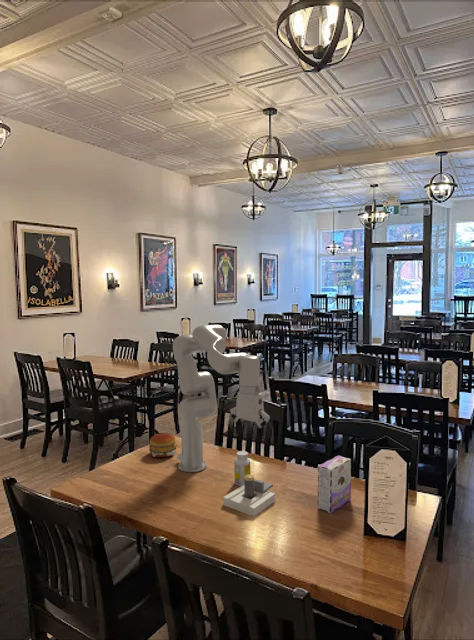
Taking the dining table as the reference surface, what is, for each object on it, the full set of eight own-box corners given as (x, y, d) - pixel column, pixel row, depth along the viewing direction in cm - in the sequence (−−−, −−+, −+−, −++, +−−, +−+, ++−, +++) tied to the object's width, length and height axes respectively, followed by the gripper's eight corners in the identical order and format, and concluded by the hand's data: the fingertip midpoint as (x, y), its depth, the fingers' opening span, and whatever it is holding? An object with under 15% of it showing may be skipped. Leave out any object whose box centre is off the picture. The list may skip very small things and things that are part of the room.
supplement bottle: (251, 480, 185) (251, 450, 184) (250, 487, 179) (250, 456, 178) (235, 479, 186) (235, 449, 185) (233, 486, 180) (233, 455, 179)
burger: (163, 447, 224) (162, 427, 223) (183, 452, 216) (182, 432, 216) (143, 455, 213) (142, 435, 213) (163, 461, 205) (163, 440, 205)
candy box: (337, 495, 171) (338, 454, 170) (351, 501, 167) (351, 458, 166) (316, 508, 162) (317, 464, 161) (330, 514, 158) (331, 469, 156)
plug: (242, 503, 165) (242, 477, 165) (248, 499, 168) (248, 473, 168) (250, 506, 163) (250, 479, 162) (256, 502, 166) (256, 476, 165)
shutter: (248, 488, 171) (248, 478, 170) (258, 481, 176) (258, 472, 176) (262, 493, 167) (262, 483, 166) (272, 486, 172) (272, 476, 172)
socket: (223, 505, 164) (223, 496, 164) (245, 491, 176) (245, 483, 175) (254, 516, 156) (254, 507, 156) (275, 501, 167) (275, 492, 167)
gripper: (274, 390, 160) (274, 436, 162) (236, 384, 171) (236, 427, 172) (263, 394, 154) (263, 442, 156) (224, 388, 165) (224, 432, 166)
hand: (249, 434), depth 164 cm, fingers open, 9 cm apart
